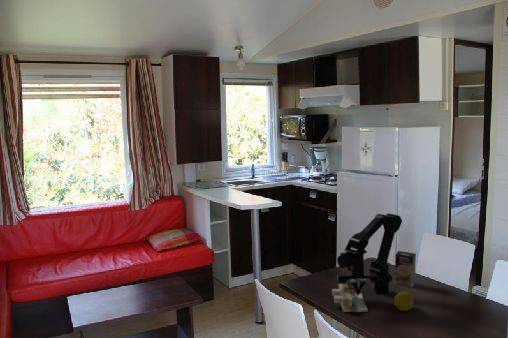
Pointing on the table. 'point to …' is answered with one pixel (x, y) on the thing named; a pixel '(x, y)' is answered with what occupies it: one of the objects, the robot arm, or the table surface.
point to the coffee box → (405, 268)
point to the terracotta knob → (337, 291)
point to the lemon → (403, 301)
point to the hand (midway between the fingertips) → (357, 295)
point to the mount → (347, 301)
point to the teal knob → (339, 299)
